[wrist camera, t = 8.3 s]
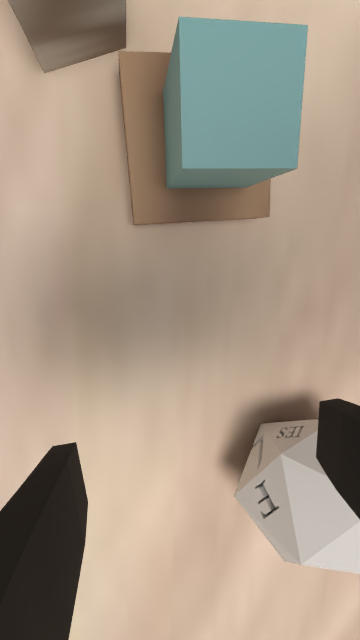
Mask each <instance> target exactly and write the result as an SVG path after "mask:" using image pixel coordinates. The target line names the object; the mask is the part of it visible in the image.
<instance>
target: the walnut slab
mask: <svg viewBox="0 0 360 640" xmlns="http://www.w3.org/2000/svg"><path fill="white" fill-rule="evenodd" d="M170 57H171V53H161V52H125V51H119V74H120V85H121V95H122V106H123V116H124V127H125V138H126V148H127V159H128V169H129V180H130V190H131V201H132V212H133V222H134V225H142V224H160V223H178V222H196V221H214V220H233V219H251V218H262V217H269V211H270V179H268V180H265V181H262V182H260V183H257V184H255V185H252V186H249V187H247V188H167V185H166V158H165V130H164V102H163V90H164V85H165V80H166V75H167V71H168V66H169V61H170Z"/></svg>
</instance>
